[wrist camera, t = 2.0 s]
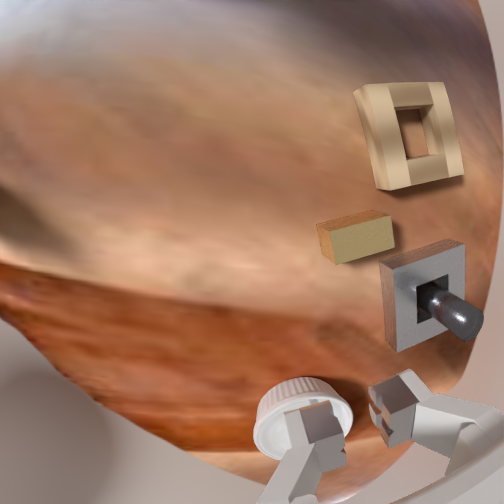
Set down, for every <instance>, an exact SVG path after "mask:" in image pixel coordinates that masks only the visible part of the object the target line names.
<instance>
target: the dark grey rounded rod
mask: <svg viewBox="0 0 504 504" xmlns="http://www.w3.org/2000/svg"><path fill="white" fill-rule="evenodd" d="M416 295H417V306H418V307H420V308H421V309H422V310H424V311H425V312H426V313H428V314H429V315H430V316H432V317H433V318H434V319H436V320H437V321H438V322H440V323H441V324H442V325H444V326H445V327H446V328H447V329H449V330H450V331H451V332H453V333H454V334H455V335H456V336H458V337H459V338H460V339H462V340H463V341H470V340H472V339H473V338H474V337H475V336H476V335H477V334H478V333H479V331H480V329H481V327H482V324H483V320H484V316H483V313H482V311H481V310H479V309H477V308H476V307H474V306H472V305H471V304H469V303H468V302H466V301H464V300H463V299H461V298H459V297H458V296H456V295H454V294H453V293H451V292H449V291H447V290H446V289H444V288H442V287H441V286H439V285H437V284H436V283H434V282H432V281H429V282H427V283H424V284H422V285H419V286H416Z"/></svg>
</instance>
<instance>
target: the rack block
mask: <svg viewBox="0 0 504 504" xmlns="http://www.w3.org/2000/svg"><path fill="white" fill-rule="evenodd" d="M353 94H354V97H355V101H356V104H357V108H358V111H359V115H360V119H361V122H362V126H363V130H364V134H365V138H366V142H367V147H368V151H369V155H370V160H371V164H372V169H373V174H374V179H375V184H376V189H383V190H394V189H399V188H403V187H408V186H412V185H417V184H421V183H426V182H430V181H435V180H439V179H444V178H448V177H453V176H458V175H463V174H464V170H463V163H462V157H461V152H460V146H459V141H458V136H457V132H456V127H455V123H454V119H453V114H452V111H451V107H450V103H449V99H448V96H447V92H446V89H445V85H444V82H401V83H380V84H366V85H364V86H362V87H361V88H359V89H357V90H356V91H354V92H353ZM408 109H418V110H419V113H420V117H421V121H422V125H423V130H424V134H425V138H426V143H427V148H428V153H429V155H425V156H419V157H413V158H408V159H406V155H405V151H404V146H403V142H402V137H401V133H400V129H399V125H398V121H397V117H396V113H395V111H396V110H408Z"/></svg>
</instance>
